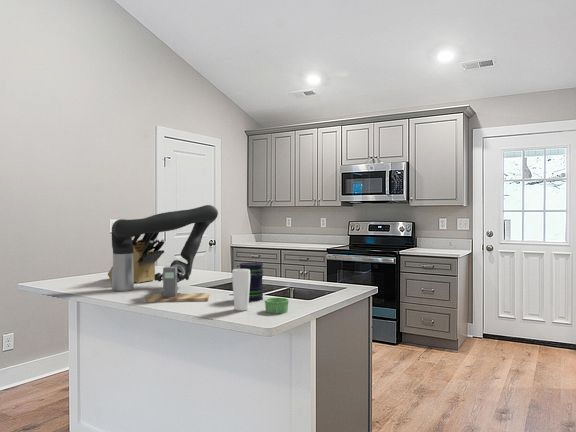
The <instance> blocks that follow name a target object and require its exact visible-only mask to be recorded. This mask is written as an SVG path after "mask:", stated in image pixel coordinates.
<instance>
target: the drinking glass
mask: <svg viewBox="0 0 576 432" xmlns="http://www.w3.org/2000/svg"><path fill="white" fill-rule="evenodd" d="M231 274H232V275H231V279H232V280H231V281H232V283H231V284H232V293H233V294H232V295H233V305H234V306H233V309H234V311H237V312H238V311H239V312H244V311H248V310H249V303H250V302H249V291H250V269H240V268H234V269H232V273H231Z"/></svg>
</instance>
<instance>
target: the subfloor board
mask: <svg viewBox="0 0 576 432" xmlns="http://www.w3.org/2000/svg"><path fill="white" fill-rule="evenodd" d="M210 296H211V293H210V292H200V293H199V292H195V293H194V292H191V293H181V292H177V296H176V297H163V293H151V294H150V295H149V296H147V297H146V299H145V303H178V302H180V303H181V302H185V303H187V302H208V301H209V299H210Z"/></svg>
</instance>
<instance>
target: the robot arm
mask: <svg viewBox="0 0 576 432" xmlns="http://www.w3.org/2000/svg"><path fill="white" fill-rule="evenodd" d="M218 215H219V212H218V209H217V208H216V207H215V206H213V205H211V204H206V205H202V206H198V207H195V208H190V209H181V210H174V211H167V212H161V213H158V214H157V213H156V214H153V215H150V216H148V217H144V218H136V219H135V218H134V219H126V218H125V219H124V218H123V219H122V218H121V219H118V220H115V221H114V222H113V224H112V226H111V249H112V266H113V270H112V279H111V291H112V292H113V291H115V292H125V291H133V290H134V287H135V285H134V284H135V282H134V249H133V245H132V240H133V238H134V237H135V236H138V235H141V236H142V235H144V234H146V233H157V232H159V233H163V232H165V233H166V232H170V231H175V230H179V229H181V228H184V227H186V226H189V225H193V227H192V229H191V232H190V234H189V236H188V237H187V239H186V241H185V243H184V246H182V247H183V248H182V249H181V252H180V256H181V258H182V259H184V260H185V261H186V262H187V263H186V262H183V261H182V260H179V259H175V260H173V261H171V263H170V266H169V267H177V284H178V283H179V282H181V281H189V279H190V276H191V274H192V269H193V263H194V259H195V257H196V256H197V253H198V251H199V249H200V246H201V244H202V239H203V236H204V233H205V232H206V230H207V229H208V228H209V226H210V224H212V223H213V222H214V221H216V219H217V218H218ZM154 281H157V282H163V272H162V273H161V272H157V273H155V280H154Z"/></svg>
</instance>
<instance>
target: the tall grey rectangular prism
mask: <svg viewBox="0 0 576 432" xmlns="http://www.w3.org/2000/svg"><path fill="white" fill-rule="evenodd" d="M162 273H163V281H162V288H163V289H162V291H163V293H162V294H163V297H176V296H177V293H178V283H177V267H170V266H164V267H162Z"/></svg>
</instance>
